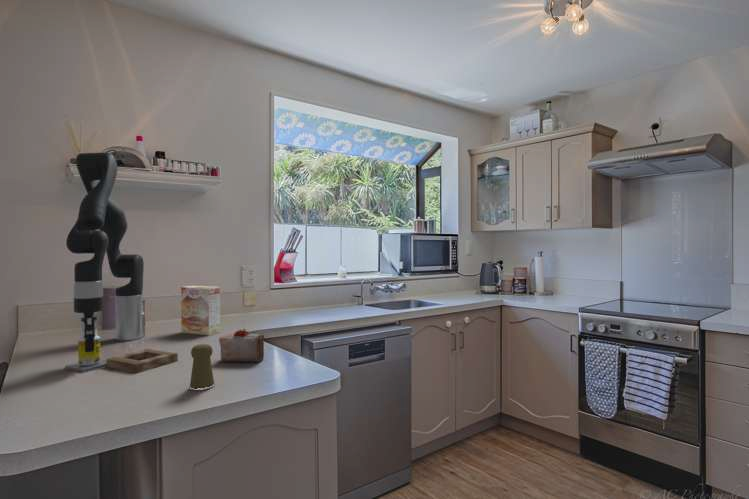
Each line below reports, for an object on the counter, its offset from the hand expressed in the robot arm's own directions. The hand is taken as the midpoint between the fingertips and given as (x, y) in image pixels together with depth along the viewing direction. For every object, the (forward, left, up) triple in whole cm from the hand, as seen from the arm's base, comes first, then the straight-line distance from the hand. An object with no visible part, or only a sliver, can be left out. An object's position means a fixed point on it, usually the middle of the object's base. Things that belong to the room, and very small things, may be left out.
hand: (89, 348), depth 131 cm
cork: (-1, +46, -6) cm, 46 cm away
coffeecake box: (-51, -9, -6) cm, 52 cm away
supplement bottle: (0, 0, -5) cm, 5 cm away
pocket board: (-9, +12, -5) cm, 16 cm away
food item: (-25, +37, -6) cm, 45 cm away
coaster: (0, 0, -5) cm, 5 cm away
